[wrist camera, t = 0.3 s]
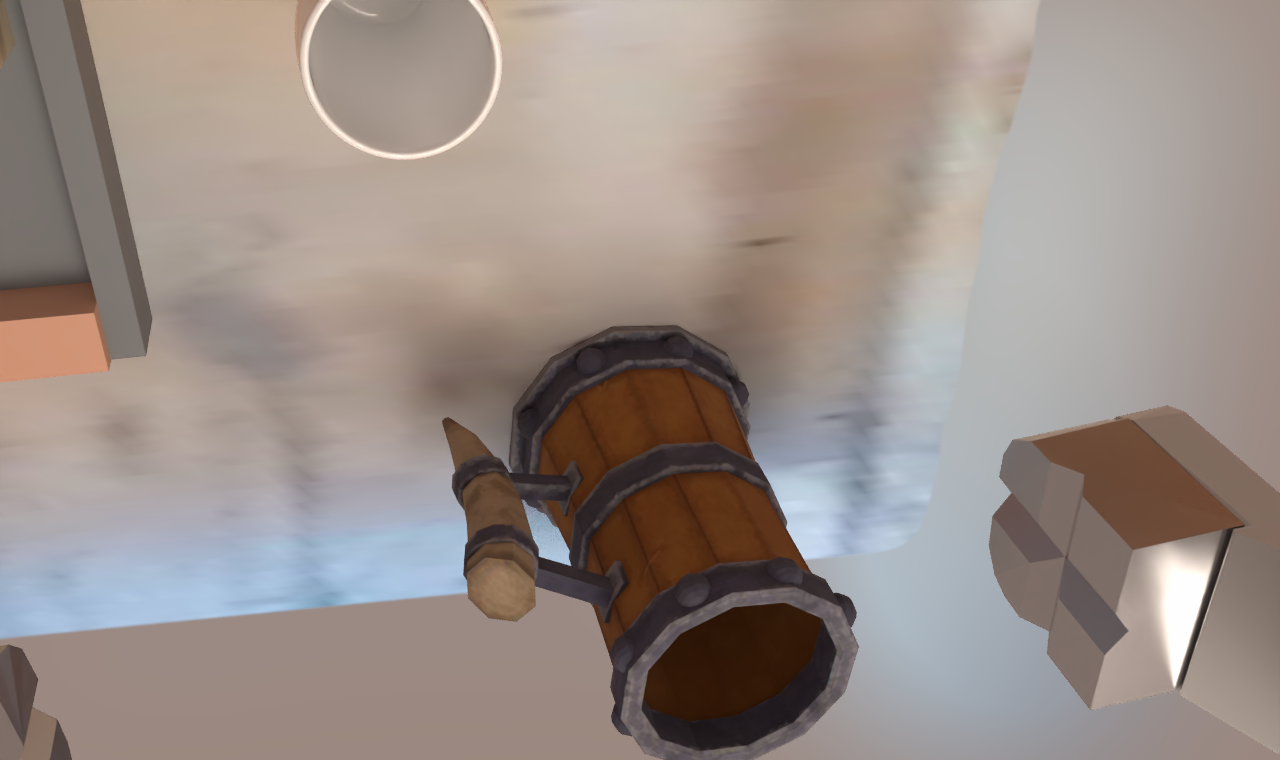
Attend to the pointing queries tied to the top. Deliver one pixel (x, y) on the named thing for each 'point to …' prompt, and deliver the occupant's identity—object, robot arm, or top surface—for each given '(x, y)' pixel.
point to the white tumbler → (399, 71)
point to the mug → (659, 544)
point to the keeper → (5, 34)
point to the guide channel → (62, 208)
